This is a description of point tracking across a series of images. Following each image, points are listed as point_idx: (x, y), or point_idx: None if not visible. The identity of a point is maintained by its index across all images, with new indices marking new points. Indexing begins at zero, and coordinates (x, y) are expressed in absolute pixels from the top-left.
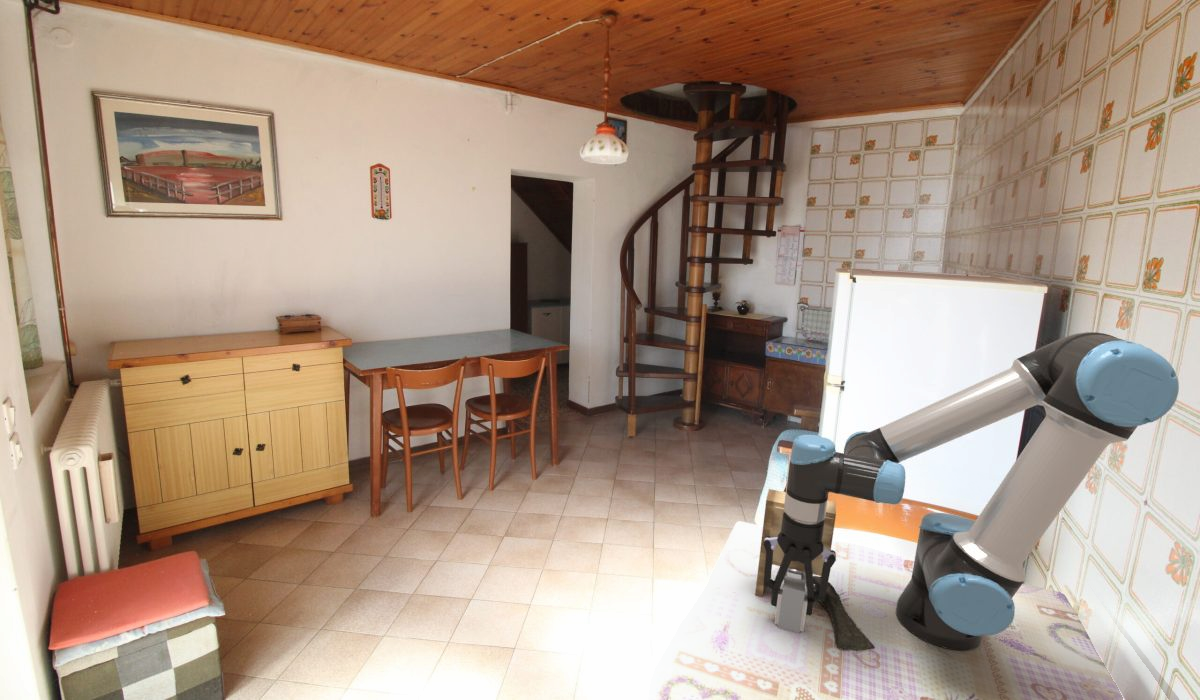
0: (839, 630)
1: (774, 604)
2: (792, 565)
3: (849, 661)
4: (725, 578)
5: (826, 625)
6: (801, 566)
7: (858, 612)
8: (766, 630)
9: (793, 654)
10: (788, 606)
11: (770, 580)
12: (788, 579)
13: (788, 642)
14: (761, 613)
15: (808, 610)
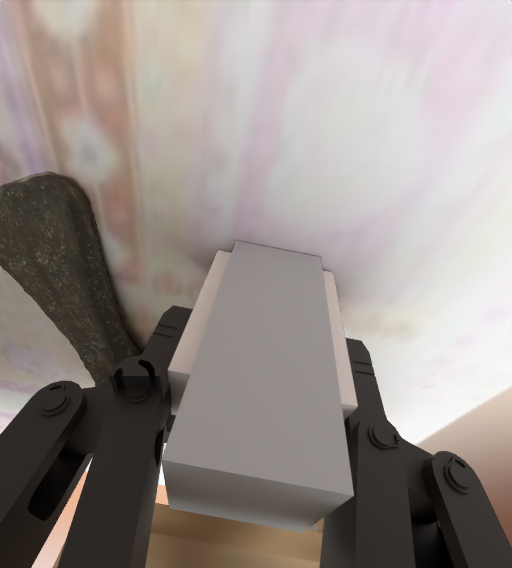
0: (76, 268)
1: (349, 346)
2: (240, 551)
3: (3, 93)
4: (429, 423)
5: (139, 297)
6: (195, 551)
7: (67, 354)
8: (380, 229)
9: (282, 58)
10: (288, 335)
11: (414, 506)
12: (283, 520)
13: (292, 166)
14: (365, 317)
15: (178, 327)
